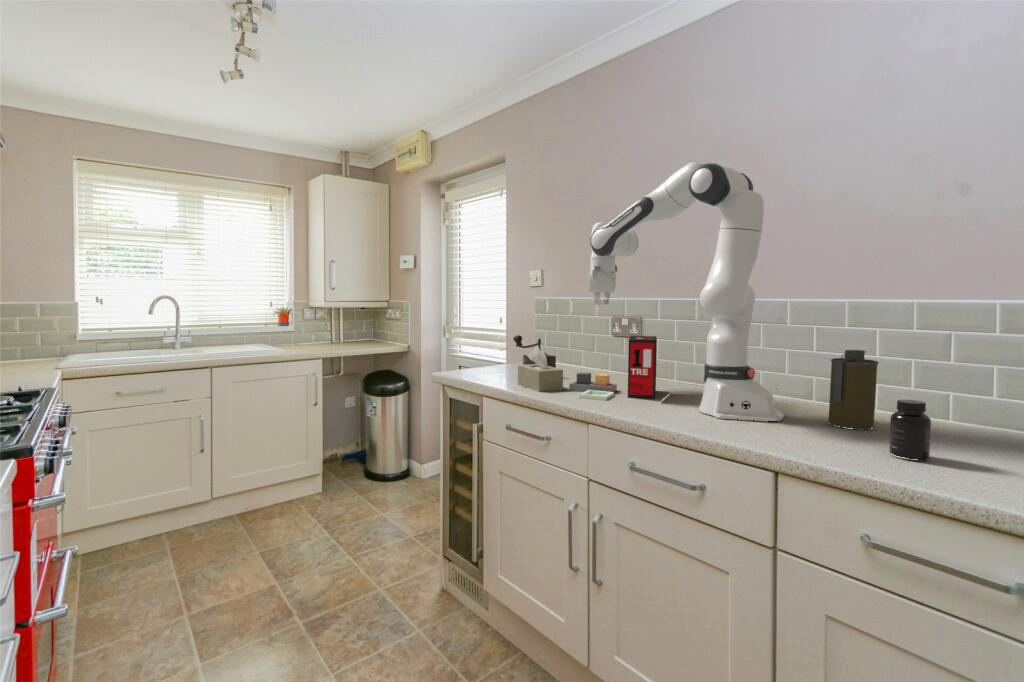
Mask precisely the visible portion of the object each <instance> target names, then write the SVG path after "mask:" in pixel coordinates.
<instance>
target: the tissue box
mask: <svg viewBox="0 0 1024 682" xmlns="http://www.w3.org/2000/svg"><path fill="white" fill-rule="evenodd" d="M540 350H541V348H540V349H539V347H538V346H535V347H534V349H533V350H531V351H530V352H529V353H528V354H526V355H527V356H528V358H529V359H530V360H532V361H533V362H535V363H536V364H528V365H523V364H518V365H517V386H518V385H521V386H523V387H522V388H524V387H526V388H525V389H530V390H532V391H535V392H539V393H541V392H542V393H543V392H549V391H550V392H552V391H562V390H564V369H561V368H557V367H556V368H554V367H550V366H547V359H546V355H545V353H546V352H545V351H544V350H541V351H540ZM544 352H545V353H544ZM521 386H520V387H521Z"/></svg>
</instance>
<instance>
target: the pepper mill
mask: <svg viewBox="0 0 1024 682" xmlns="http://www.w3.org/2000/svg"><path fill="white" fill-rule="evenodd" d="M522 340H523V337H522V335H519V334H518V335H514V337H513V338H512V341H513V342H514V343H515V347H519V348H522V349H529V348H533V347H539V349H540V351H542V349H541V344H542V338H538V339H537V341H538V342H537V343H534V344H529V345H523V344H522ZM544 353H545V355H546V359H547V366H550V367H554V368H557V367H556V363H557V360H556V359H557V358H556V356H555V355H552V354H548V353H546V352H545V351H544ZM527 355H528V354H523V355H522V361H523V362H522V365H528V364H536V363H535V362H533V361H532V360H530V359H529V358H528V356H527Z"/></svg>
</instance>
